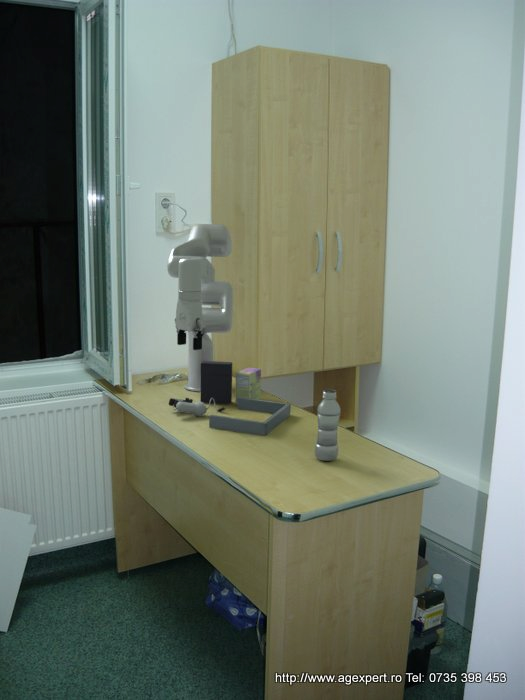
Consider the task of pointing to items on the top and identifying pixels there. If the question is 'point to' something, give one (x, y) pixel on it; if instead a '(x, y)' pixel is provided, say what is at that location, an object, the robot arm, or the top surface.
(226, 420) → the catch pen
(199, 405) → the clip-on lamp
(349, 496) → the top surface
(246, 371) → the box
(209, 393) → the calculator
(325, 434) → the plastic bottle
